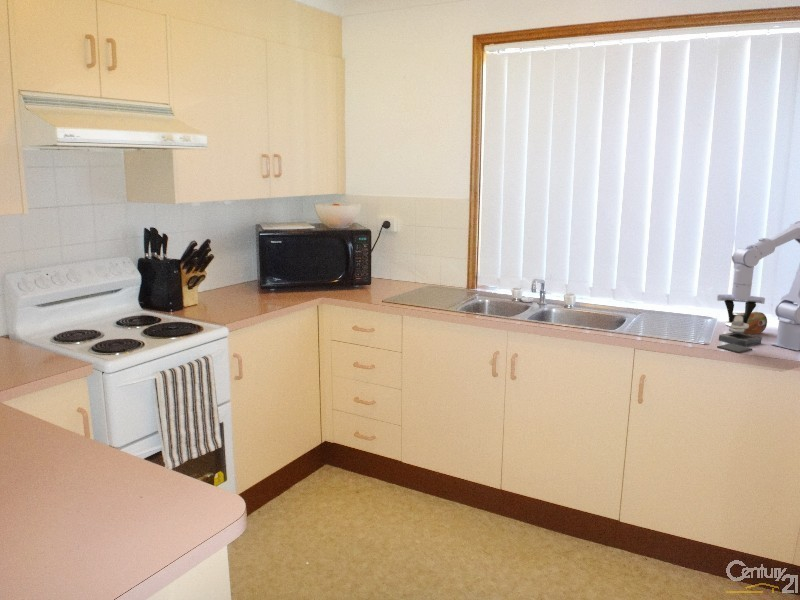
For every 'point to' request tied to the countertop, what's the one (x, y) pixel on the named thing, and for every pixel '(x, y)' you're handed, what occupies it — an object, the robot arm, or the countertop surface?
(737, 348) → the mat
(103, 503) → the countertop surface
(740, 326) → the door knob
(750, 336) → the frame
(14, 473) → the countertop surface
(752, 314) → the orange patterned rounded block
